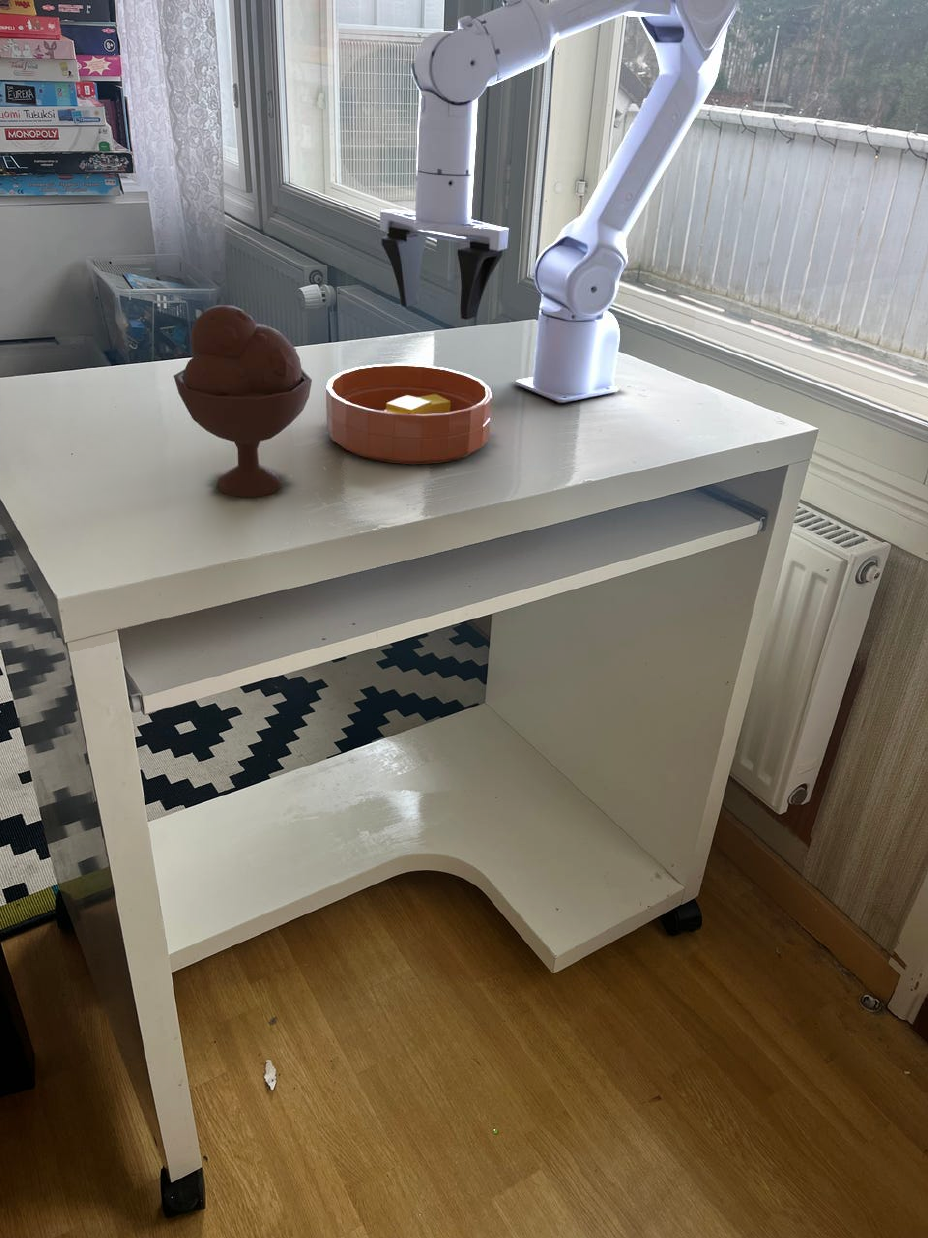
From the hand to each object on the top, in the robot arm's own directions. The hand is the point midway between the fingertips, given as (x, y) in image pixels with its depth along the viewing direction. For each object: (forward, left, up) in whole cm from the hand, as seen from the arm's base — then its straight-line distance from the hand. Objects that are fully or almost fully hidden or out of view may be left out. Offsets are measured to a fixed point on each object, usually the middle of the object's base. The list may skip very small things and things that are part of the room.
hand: (438, 311), depth 102 cm
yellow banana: (+10, +9, -9) cm, 16 cm away
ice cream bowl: (+29, +12, -10) cm, 33 cm away
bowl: (+10, +9, -9) cm, 16 cm away
